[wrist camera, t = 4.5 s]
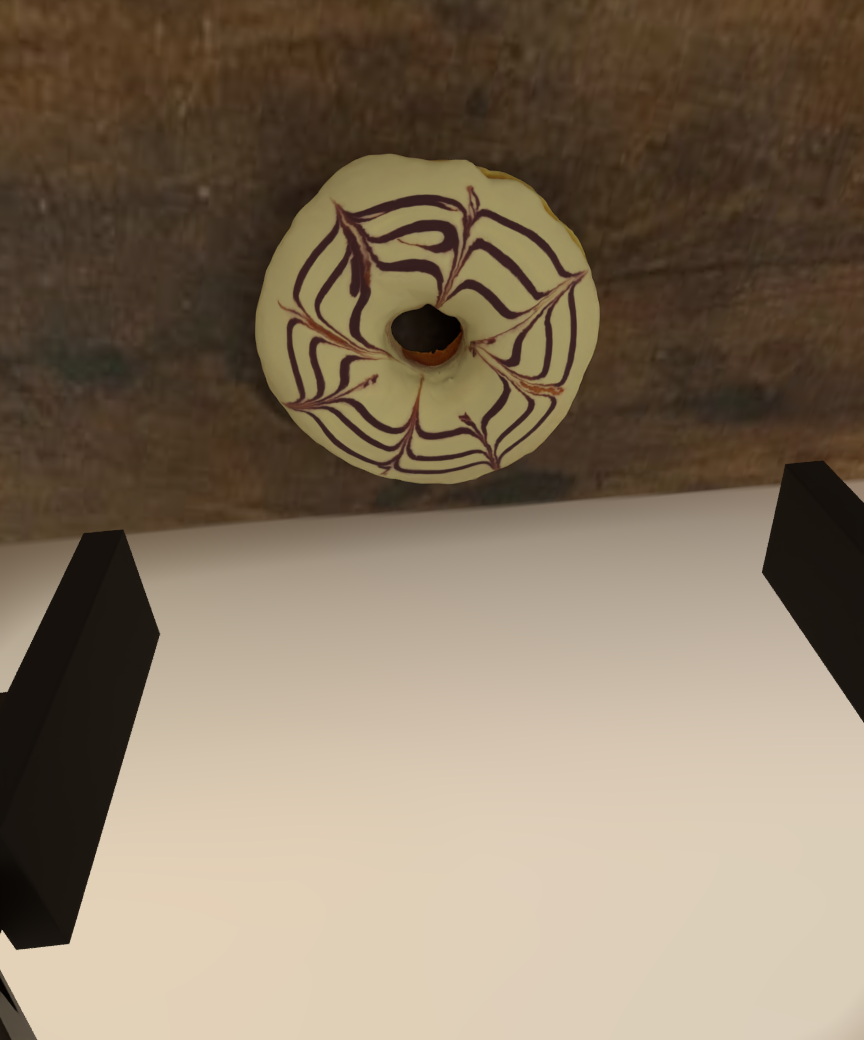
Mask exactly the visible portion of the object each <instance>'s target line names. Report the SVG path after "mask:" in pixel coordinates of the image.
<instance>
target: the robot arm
mask: <svg viewBox="0 0 864 1040" xmlns="http://www.w3.org/2000/svg"><path fill="white" fill-rule="evenodd" d="M762 573H763V575H764V576H765V578H766V579H767V580H768V582H769V583H770V585H771V587H772V588H773V589H774V591H775V592H776V594H777V595H778V597H779V598H780V600H781V601H782V603H783V604H784V606H785V607H786V609H787V610H788V611H789V613H790V615H791V616H792V617H793V619H794V620H795V622H796V623H797V625H798V626H799V628H800V629H801V631H802V632H803V633H804V635H805V637H806V638H807V639H808V641H809V643H810V644H811V645H812V647H813V648H814V650H815V651H816V653H817V654H818V656H819V657H820V659H821V660H822V662H823V663H824V665H825V666H826V667H827V669H828V671H829V672H830V673H831V675H832V676H833V678H834V679H835V681H836V682H837V684H838V685H839V687H840V688H841V690H842V691H843V693H844V694H845V695H846V697H847V699H848V700H849V701H850V703H851V704H852V706H853V707H854V709H855V710H856V712H857V713H858V715H859V716H860V718H861V719H862V721H863V722H864V503H863V502H862V501H861V500H860V499H859V498H858V496H857V495H856V494H855V493H854V492H853V491H852V490H851V489H850V488H849V487H848V486H847V485H846V484H845V483H844V482H843V481H842V480H841V479H840V478H839V477H838V476H837V474H836V473H835V472H834V471H833V470H832V469H831V468H830V467H829V466H828V465H827V464H826V463H825V462H824V461H813V462H803V463H793V464H785V469H784V473H783V478H782V482H781V487H780V492H779V497H778V501H777V506H776V510H775V515H774V519H773V524H772V528H771V533H770V538H769V543H768V547H767V552H766V556H765V561H764V565H763V570H762ZM159 636H160V633H159V630H158V627H157V624H156V622H155V619H154V616H153V613H152V610H151V607H150V604H149V602H148V599H147V596H146V593H145V590H144V587H143V584H142V582H141V579H140V576H139V573H138V570H137V567H136V565H135V561H134V559H133V556H132V553H131V550H130V547H129V544H128V541H127V539H126V536H125V533H124V530H113V531H103V532H93V533H84V534H83V536H82V538H81V540H80V542H79V545H78V546H77V548H76V551H75V553H74V555H73V557H72V559H71V561H70V563H69V565H68V567H67V569H66V571H65V573H64V575H63V578H62V580H61V582H60V584H59V586H58V588H57V590H56V592H55V594H54V596H53V598H52V600H51V602H50V605H49V607H48V609H47V611H46V613H45V615H44V617H43V619H42V621H41V624H40V625H39V628H38V630H37V632H36V634H35V636H34V638H33V640H32V642H31V644H30V647H29V648H28V650H27V652H26V654H25V657H24V659H23V661H22V663H21V665H20V667H19V669H18V671H17V673H16V675H15V678H14V680H13V682H12V684H11V686H10V688H9V690H8V692H3V693H0V933H1V930H3V932H4V933H5V934H6V936H7V937H8V939H9V940H10V942H11V943H12V945H13V946H14V947H15V949H16V950H19V949H28V948H37V947H46V946H54V945H64V944H69V943H70V940H71V936H72V933H73V929H74V926H75V923H76V919H77V916H78V912H79V909H80V906H81V902H82V899H83V895H84V892H85V888H86V885H87V881H88V878H89V875H90V871H91V868H92V865H93V861H94V858H95V854H96V851H97V847H98V844H99V841H100V837H101V834H102V830H103V827H104V823H105V820H106V816H107V813H108V810H109V806H110V803H111V800H112V796H113V793H114V789H115V786H116V783H117V779H118V775H119V772H120V769H121V765H122V762H123V759H124V755H125V752H126V748H127V745H128V741H129V738H130V735H131V731H132V728H133V724H134V721H135V718H136V714H137V711H138V707H139V704H140V701H141V697H142V694H143V690H144V687H145V683H146V680H147V677H148V673H149V670H150V666H151V663H152V660H153V656H154V653H155V649H156V646H157V642H158V639H159ZM0 1040H37V1039H36V1037H35V1035H34V1033H33V1031H32V1029H31V1027H30V1025H29V1023H28V1022H27V1020H26V1018H25V1016H24V1014H23V1012H22V1011H21V1008H20V1006H19V1005H18V1003H17V1001H16V999H15V997H14V995H13V993H12V992H11V989H10V988H9V986H8V984H7V982H6V980H5V978H4V976H3V974H2V973H1V971H0Z"/></svg>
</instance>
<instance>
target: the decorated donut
mask: <svg viewBox="0 0 864 1040" xmlns="http://www.w3.org/2000/svg"><path fill="white" fill-rule="evenodd" d="M425 304H431V305H432V306H434V307H435V308H436V309H438V310H440V311H441V312H442V313H444V314H446V315H448V316H454V317H456V318H457V319H458V320H459V322H460V323H461V326H460V327H461V328H460V329H461V332H460V334H459V335H458V336H457V337H456V339H455V340H454V341H453V342H452V343H451V344H449V345H447V348H446V349H444V350H443V351H441V350H440V351H439V350H436V352H435V353H434V354H432V352H430V353H420V352H417V351H416V352H415V351H409V350H407V349H404V348H403V347H401V345H399V343H398V342H397V341H396V340H395V339H394V337H393V335H392V333H391V331H392V330H391V325H392V322H393V320H394V319H395V318H396V317H397V316H398V315H400V314H401V313H403V312H406V311H410V310H415V309H419V308H421V307H423V306H424V305H425ZM599 319H600V308H599V302H598V298H597V291H596V288H595V284H594V281H593V279H592V274H591V270H590V267H589V265H588V263H587V260H586V257H585V253H584V251H583V249H582V246H581V244H580V242H579V240H578V238H577V237H576V236H575V235H574V233H573V231H572V230H570V229H569V228H568V227H567V226H566V225H565V224H563V223H562V222H561V221H560V220H559V219H558V218H557V217H556V216H555V215H554V214H553V212H552V211H551V210H550V208H549V207H548V205H547V203H546V201H545V200H544V199H543V198H542V197H541V196H540V195H538V194H537V193H536V192H535V191H534V190H533V188H532V187H531V186H529V185H528V184H526V183H525V182H523V181H521V180H519V179H517V178H515V177H513V176H511V175H509V174H507V173H503V172H500V171H489V170H487V169H485V168H483V167H479V166H475V165H474V164H473V163H471V162H469V161H467V160H444V159H442V160H430V161H428V160H423V159H418V158H407V157H404V156H400V155H395V154H383V155H367V156H365V157H362V158H359V159H356V160H354V161H352V162H351V163H349V164H347V165H346V166H344V167H342V168H341V169H340V170H338V171H337V172H336V173H335V174H334V175H333V176H332V177H331V178H330V179H329V180H328V181H327V182H326V183H325V184H324V185H323V186H322V188H321V189H320V191H319V192H318V194H317V195H316V196H315V197H314V198H313V199H312V200H311V201H310V202H309V203H307V204H306V205H305V206H304V207H303V208H302V209H301V210H300V211H299V212H298V214H297V215H296V217H295V218H294V220H293V222H292V225H291V227H290V228H289V230H288V231H287V233H286V234H285V236H284V237H283V239H282V241H281V242H280V244H279V245H278V247H277V249H276V251H275V253H274V255H273V257H272V260H271V262H270V264H269V266H268V268H267V270H266V273H265V278H264V283H263V287H262V291H261V295H260V298H259V302H258V306H257V311H256V323H255V339H256V345H257V351H258V354H259V357H260V359H261V364H262V369H263V371H264V374H265V377H266V380H267V383H268V386H269V388H270V390H271V391H272V392H273V394H274V395H275V396H276V398H277V399H278V401H279V402H280V403H281V405H282V406H283V407H284V408H285V409H286V410H287V412H288V413H289V415H290V416H291V418H292V419H293V420H294V422H295V423H296V424H297V425H298V426H299V427H300V428H301V429H302V430H303V431H304V432H305V433H306V434H308V435H309V436H310V437H311V438H312V439H313V440H314V441H315V442H317V443H319V444H320V445H322V446H323V447H325V448H326V449H327V450H329V451H330V452H331V453H333V454H335V455H336V456H338V457H340V458H341V459H343V460H345V461H346V462H348V463H349V464H351V465H353V466H356V467H359V468H361V469H363V470H366V471H368V472H370V473H373V474H375V475H378V476H382V477H385V478H390V479H399V480H402V481H407V482H415V483H422V484H425V483H443V484H454V483H460V482H463V481H467V480H473V479H476V478H478V477H479V476H481V475H484V474H487V473H489V472H492V471H495V470H498V469H501V468H503V467H506V466H508V465H510V464H511V463H513V462H515V461H516V460H518V459H520V458H521V457H522V456H524V455H526V454H528V453H531V452H533V451H534V450H535V449H536V448H537V447H538V446H539V445H540V444H542V443H543V442H544V441H545V439H546V438H547V437H548V436H549V435H550V434H551V433H552V431H553V430H554V429H555V428H556V427H557V425H558V424H559V423H560V422H561V421H562V420H563V419H564V417H565V416H566V414H567V412H568V410H569V408H570V406H571V404H572V401H573V399H574V398H575V395H576V393H577V392H578V389H579V385H580V383H581V381H582V378H583V374H584V372H585V370H586V368H587V366H588V364H589V362H590V360H591V358H592V355H593V353H594V350H595V346H596V343H597V338H598V329H599Z"/></svg>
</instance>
